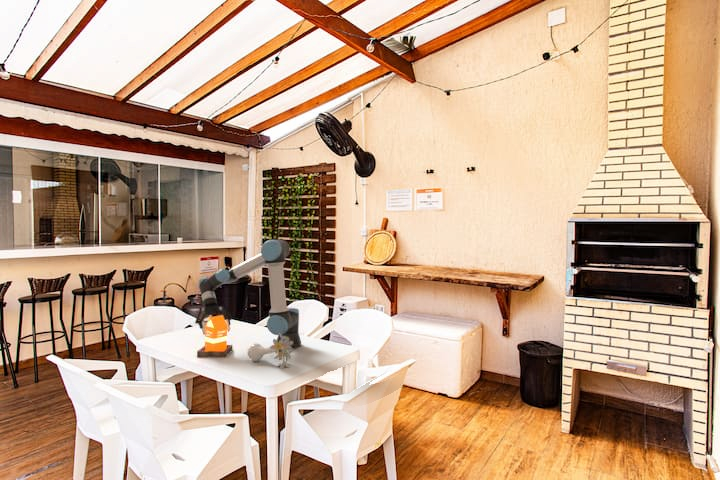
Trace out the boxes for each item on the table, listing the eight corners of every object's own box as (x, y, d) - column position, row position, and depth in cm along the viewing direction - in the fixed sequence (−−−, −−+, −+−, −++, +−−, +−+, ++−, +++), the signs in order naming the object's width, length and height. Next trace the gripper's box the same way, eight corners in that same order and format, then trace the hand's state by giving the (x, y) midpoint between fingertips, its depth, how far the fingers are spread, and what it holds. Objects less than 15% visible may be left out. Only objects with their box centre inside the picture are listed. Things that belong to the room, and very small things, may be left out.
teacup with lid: (220, 332, 280) (220, 315, 280) (209, 335, 273) (209, 317, 273) (208, 330, 287) (208, 313, 287) (197, 332, 279) (197, 315, 279)
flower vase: (249, 375, 218) (288, 371, 208) (239, 342, 216) (277, 336, 206) (264, 364, 230) (301, 359, 220) (254, 333, 228) (291, 326, 218)
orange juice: (204, 352, 232) (205, 316, 231) (218, 348, 239) (218, 314, 239) (213, 354, 227) (214, 318, 227) (226, 351, 235) (227, 315, 234)
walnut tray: (232, 350, 240) (232, 345, 240) (224, 357, 226) (224, 351, 226) (206, 349, 240) (206, 344, 240) (197, 356, 226) (197, 351, 226)
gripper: (229, 302, 253) (237, 332, 241) (185, 306, 238) (192, 338, 226) (232, 295, 248) (240, 325, 236) (188, 298, 234) (194, 330, 222)
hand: (216, 331), depth 231 cm, fingers open, 13 cm apart
